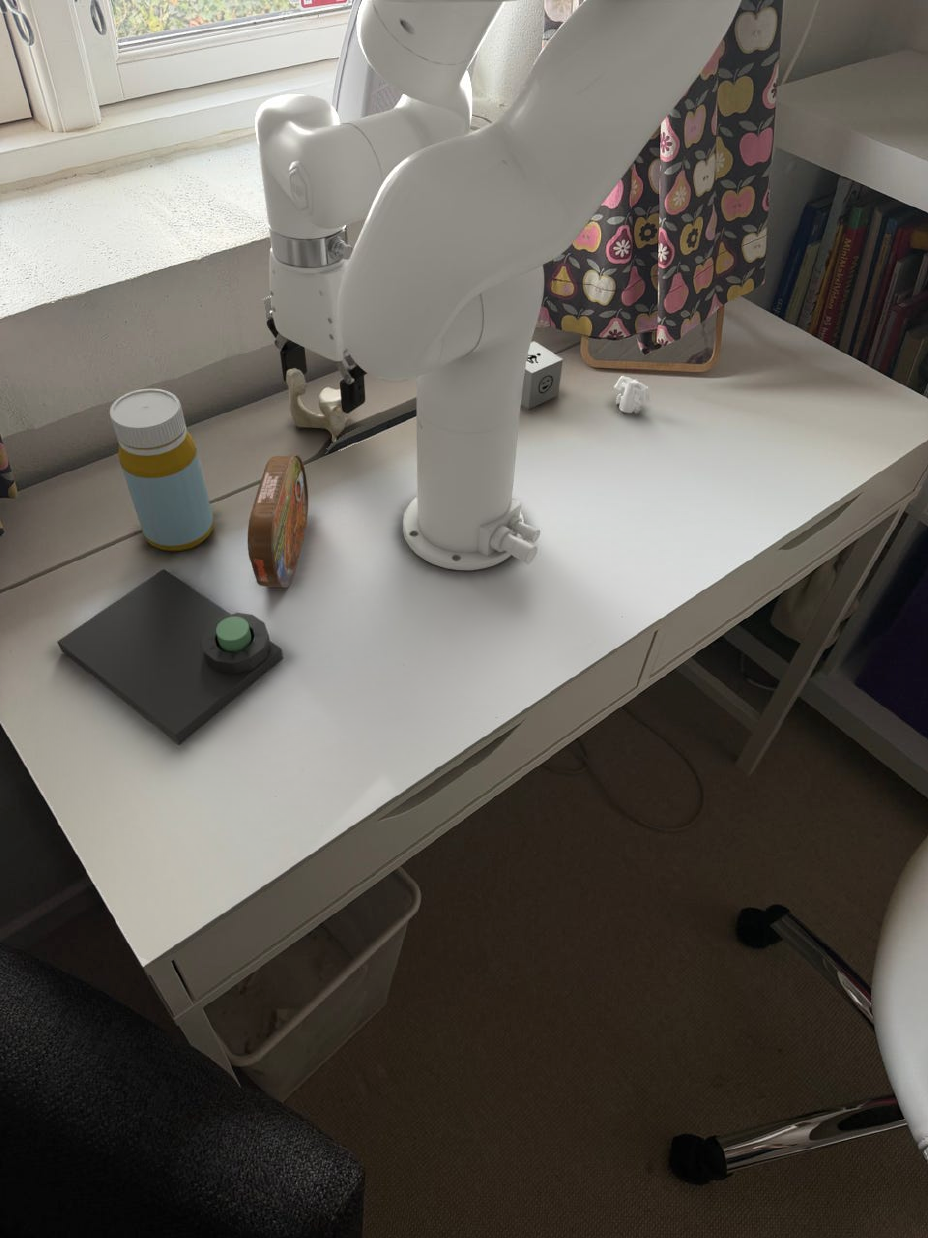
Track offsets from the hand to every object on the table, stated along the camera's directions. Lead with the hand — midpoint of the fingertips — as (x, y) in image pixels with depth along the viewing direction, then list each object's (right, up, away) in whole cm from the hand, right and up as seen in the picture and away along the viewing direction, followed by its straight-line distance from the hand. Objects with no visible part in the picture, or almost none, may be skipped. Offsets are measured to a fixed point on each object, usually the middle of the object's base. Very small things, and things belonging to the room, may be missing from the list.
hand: (324, 391), depth 100 cm
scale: (-11, -29, -20) cm, 37 cm away
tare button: (-4, -28, -22) cm, 36 cm away
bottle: (-13, -17, -9) cm, 23 cm away
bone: (0, -3, +4) cm, 5 cm away
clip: (+36, 0, +8) cm, 37 cm away
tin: (-2, -19, -11) cm, 22 cm away
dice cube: (+24, +2, +9) cm, 26 cm away
